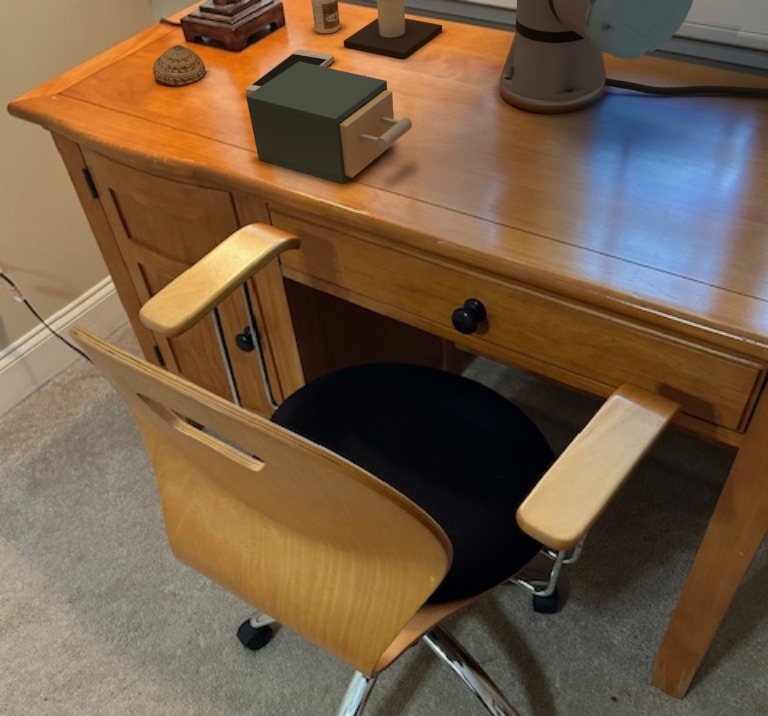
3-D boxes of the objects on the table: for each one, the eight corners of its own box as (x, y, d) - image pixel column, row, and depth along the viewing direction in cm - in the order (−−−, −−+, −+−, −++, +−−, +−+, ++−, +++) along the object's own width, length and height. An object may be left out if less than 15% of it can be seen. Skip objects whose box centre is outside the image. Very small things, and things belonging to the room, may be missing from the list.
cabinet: (391, 145, 110) (386, 80, 104) (343, 184, 105) (335, 119, 98) (308, 123, 116) (299, 61, 109) (258, 159, 110) (245, 96, 104)
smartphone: (335, 60, 129) (334, 53, 128) (284, 101, 121) (282, 95, 120) (298, 54, 131) (297, 48, 130) (245, 94, 123) (244, 88, 122)
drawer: (421, 149, 107) (420, 97, 102) (379, 185, 102) (375, 133, 97) (317, 122, 114) (310, 72, 109) (272, 155, 109) (263, 104, 104)
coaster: (442, 31, 133) (442, 24, 132) (404, 59, 127) (403, 52, 126) (383, 20, 138) (383, 14, 137) (343, 47, 132) (343, 40, 131)
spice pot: (410, 29, 132) (407, -36, 125) (396, 39, 130) (392, -27, 123) (388, 25, 134) (384, -40, 126) (374, 35, 132) (369, -30, 124)
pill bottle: (330, 36, 135) (324, -16, 129) (310, 31, 137) (303, -20, 131) (345, 26, 137) (340, -25, 131) (324, 22, 139) (318, -29, 133)
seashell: (178, 44, 132) (200, 34, 126) (194, 80, 135) (216, 72, 129) (137, 61, 128) (158, 52, 123) (155, 98, 131) (175, 90, 126)
